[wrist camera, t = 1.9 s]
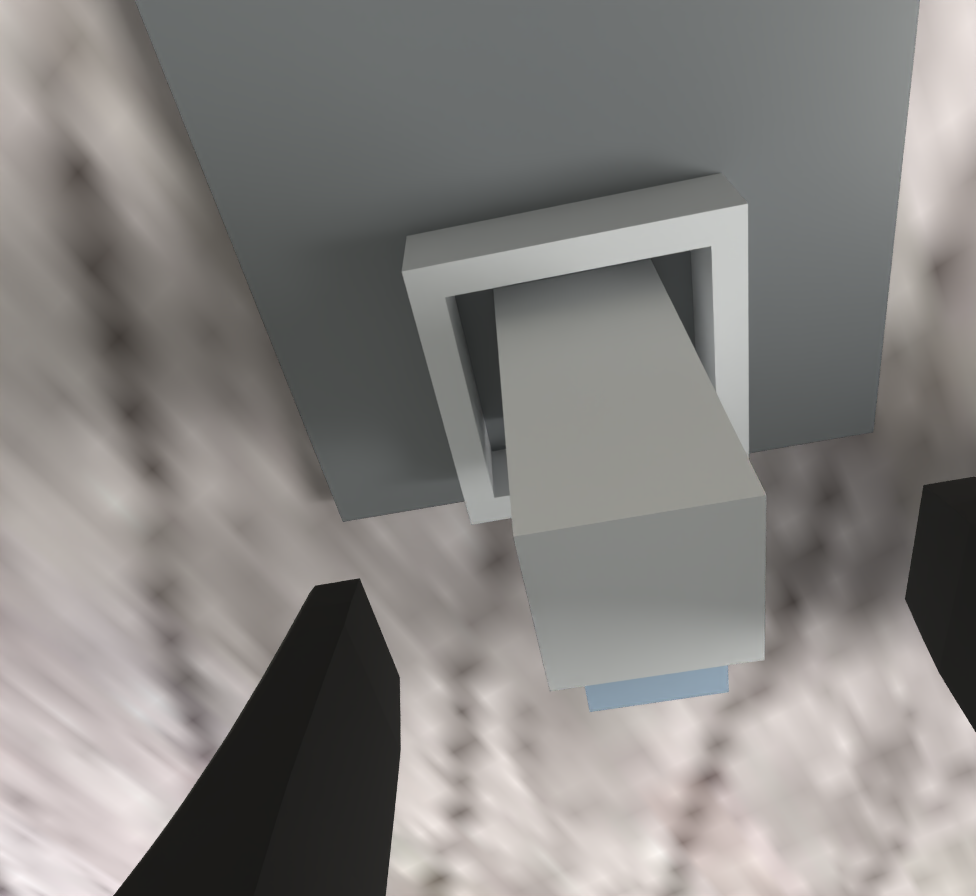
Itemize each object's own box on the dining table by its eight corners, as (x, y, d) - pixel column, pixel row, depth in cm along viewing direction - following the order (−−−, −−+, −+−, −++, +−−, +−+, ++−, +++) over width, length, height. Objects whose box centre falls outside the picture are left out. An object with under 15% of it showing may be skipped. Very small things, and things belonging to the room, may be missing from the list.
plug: (650, 259, 15) (766, 495, 9) (662, 416, 17) (764, 687, 11) (493, 289, 15) (513, 536, 10) (524, 440, 17) (555, 717, 12)
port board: (1000, -1113, 8) (1180, -1440, 6) (858, 411, 18) (906, 477, 16) (-132, -737, 9) (-300, -909, 7) (346, 500, 19) (333, 571, 17)
